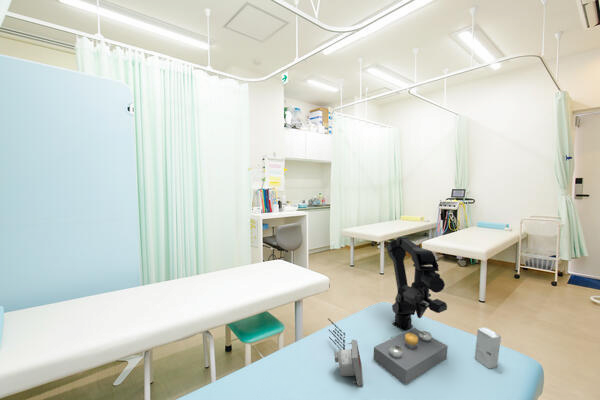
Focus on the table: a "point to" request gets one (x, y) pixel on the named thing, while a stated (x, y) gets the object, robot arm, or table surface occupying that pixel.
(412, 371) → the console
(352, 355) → the grey ridged piece
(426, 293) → the robot arm
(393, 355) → the near button
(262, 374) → the table surface
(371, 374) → the table surface
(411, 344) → the middle button
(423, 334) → the far button
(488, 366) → the skincare box
